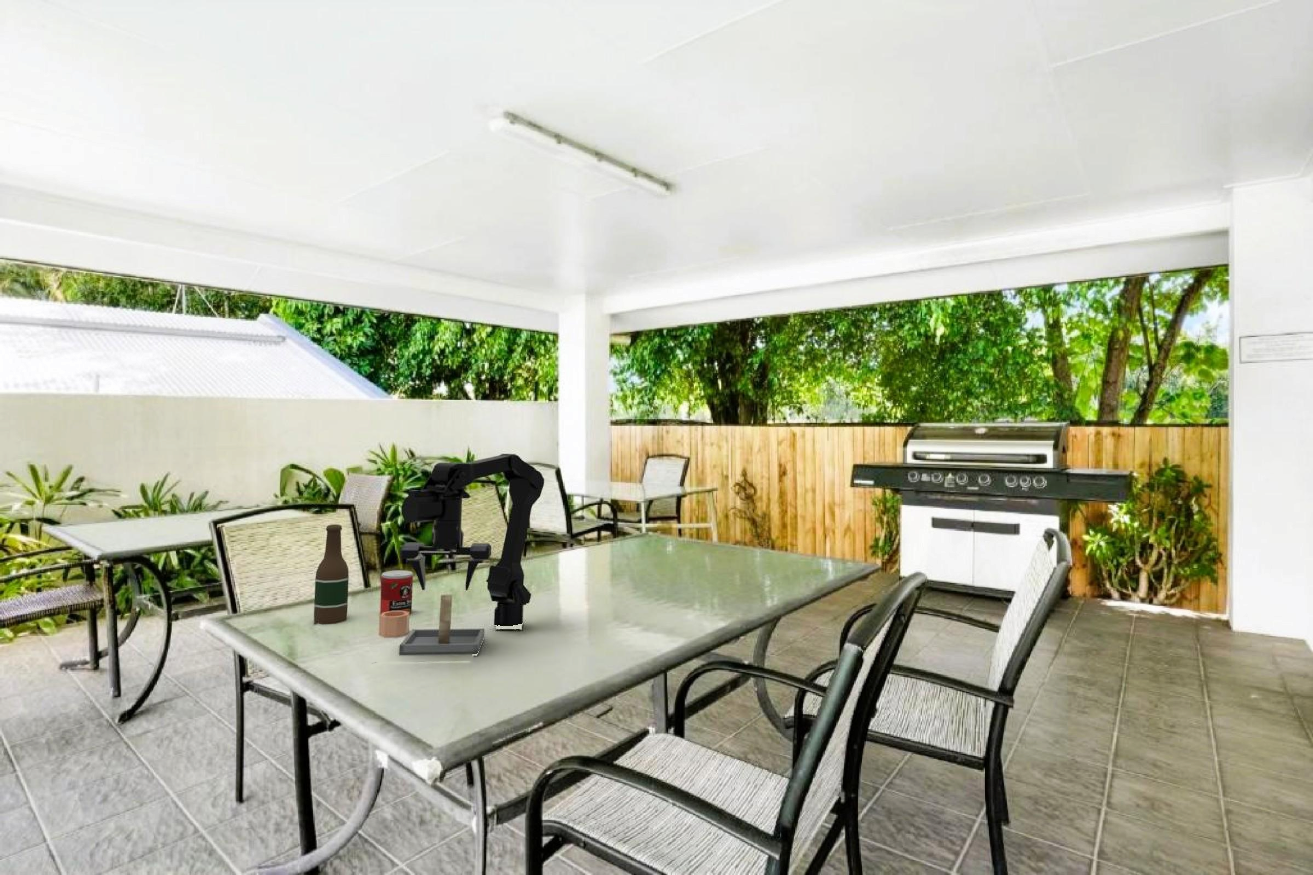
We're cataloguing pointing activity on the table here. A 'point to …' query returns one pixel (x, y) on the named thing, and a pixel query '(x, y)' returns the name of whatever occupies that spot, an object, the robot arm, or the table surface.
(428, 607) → the table surface
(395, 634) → the cup
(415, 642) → the tray
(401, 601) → the canned food
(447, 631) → the dowel pin
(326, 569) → the beer bottle
